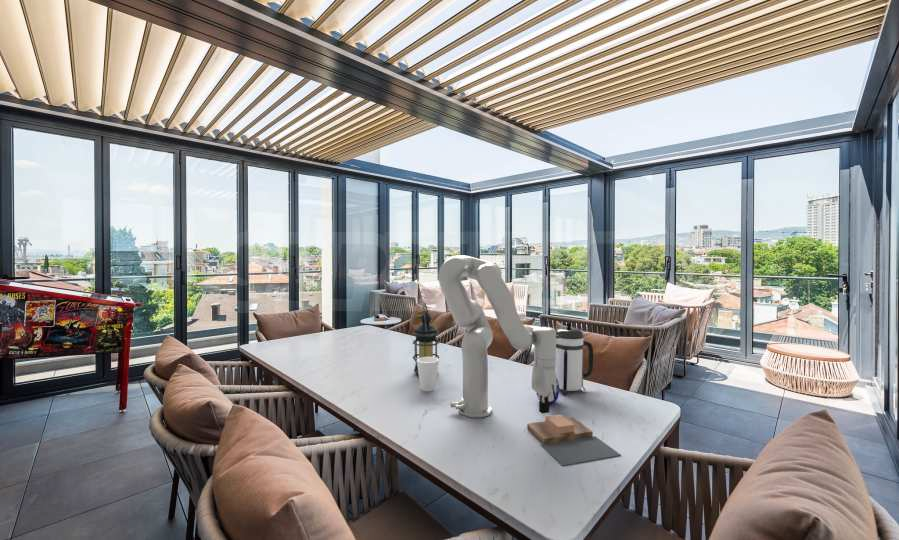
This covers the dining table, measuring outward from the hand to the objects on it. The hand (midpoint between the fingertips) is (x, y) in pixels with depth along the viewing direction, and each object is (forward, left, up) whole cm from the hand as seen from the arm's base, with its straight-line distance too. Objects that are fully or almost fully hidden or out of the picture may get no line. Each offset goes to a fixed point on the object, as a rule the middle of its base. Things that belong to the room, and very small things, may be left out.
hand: (544, 412), depth 139 cm
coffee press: (+27, +25, -3) cm, 37 cm away
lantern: (-29, +64, -3) cm, 70 cm away
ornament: (+10, +15, -3) cm, 18 cm away
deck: (0, -10, -3) cm, 10 cm away
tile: (0, -10, -1) cm, 10 cm away
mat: (0, -21, -3) cm, 22 cm away
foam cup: (-33, +43, -3) cm, 54 cm away
